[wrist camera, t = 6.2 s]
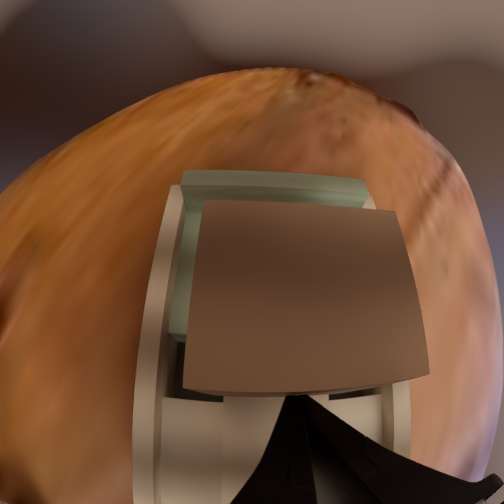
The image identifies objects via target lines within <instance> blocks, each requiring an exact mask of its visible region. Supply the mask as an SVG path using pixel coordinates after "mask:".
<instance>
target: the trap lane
mask: <svg viewBox="0 0 504 504" xmlns="http://www.w3.org/2000/svg"><path fill="white" fill-rule="evenodd" d="M204 200H235V201H264V202H285V203H303V204H318V205H332V206H344V207H356V208H367V209H376V207H375V204H374V201H373V198H372V195H371V194H369V193H368V190H367V187H366V184H365V181H364V180H363V179H355V178H346V177H337V176H326V175H315V174H303V173H288V172H271V171H246V170H184V172H183V176H182V180H181V183H180V185H171V188H170V192H169V196H168V199H167V203H166V207H165V211H164V215H163V219H162V223H161V227H160V232H159V236H158V240H157V245H156V249H155V254H154V259H153V264H152V269H151V274H150V279H149V284H148V290H147V295H146V301H145V307H144V314H143V320H142V327H141V334H140V342H139V350H138V359H137V369H136V379H135V391H134V406H133V427H132V482H133V501H134V504H230V503H231V501H232V500H233V499H234V497H235V496H236V495H237V493H238V492H239V491H240V489H241V488H242V487H243V485H244V484H245V483H246V481H247V480H248V479H249V477H250V476H251V474H252V473H253V471H254V470H255V468H256V467H257V465H258V463H259V462H260V459H261V457H262V455H263V453H264V451H265V448H266V446H267V444H268V441H269V439H270V436H271V434H272V431H273V428H274V426H275V423H276V420H277V418H278V415H279V412H280V410H281V407H282V404H283V401H284V398H285V397H234V396H215V395H211V394H206V393H202V392H197V391H193V390H189V389H185V388H183V373H184V359H185V347H186V336H187V325H188V315H189V306H190V297H191V288H192V280H193V272H194V264H195V257H196V250H197V242H198V236H199V229H200V222H201V216H202V210H203V203H204ZM310 397H311V398H313V399H314V400H315V401H317V402H318V403H319V404H321V405H322V406H324V407H325V408H326V409H328V410H329V411H330V412H332V413H333V414H335V415H336V416H337V417H339V418H340V419H342V420H343V421H345V422H346V423H347V424H349V425H350V426H352V427H353V428H355V429H356V430H358V431H359V432H361V433H362V434H364V435H365V436H367V437H369V438H370V439H372V440H373V441H375V442H377V443H378V444H380V445H382V446H383V447H385V448H387V449H389V450H391V451H393V452H395V453H397V454H399V455H402V456H404V457H406V458H408V459H410V446H411V410H410V388H409V380H406V381H401V382H397V383H393V384H388V385H384V386H379V387H374V388H368V389H363V390H357V391H351V392H345V393H338V394H327V395H314V396H310Z"/></svg>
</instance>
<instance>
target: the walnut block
mask: <svg viewBox="0 0 504 504" xmlns="http://www.w3.org/2000/svg"><path fill="white" fill-rule="evenodd" d="M428 374H430V371H429V362H428V353H427V345H426V338H425V331H424V325H423V319H422V314H421V309H420V303H419V299H418V294H417V289H416V285H415V280H414V276H413V272H412V268H411V264H410V260H409V257H408V253H407V249H406V246H405V243H404V239H403V236H402V233H401V229H400V226H399V223H398V220H397V217H396V214H395V211H387V210H377V209H367V208H356V207H344V206H332V205H318V204H303V203H285V202H264V201H235V200H204V203H203V210H202V216H201V222H200V229H199V236H198V242H197V250H196V257H195V264H194V272H193V280H192V288H191V297H190V306H189V315H188V325H187V336H186V347H185V359H184V373H183V388H185V389H189V390H193V391H197V392H202V393H206V394H211V395H215V396H234V397H285V396H286V395H296V396H297V395H302V394H307V395H309V396H314V395H327V394H338V393H345V392H351V391H357V390H363V389H368V388H374V387H379V386H384V385H388V384H393V383H397V382H401V381H406V380H410V379H413V378H417V377H421V376H425V375H428Z"/></svg>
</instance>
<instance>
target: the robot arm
mask: <svg viewBox="0 0 504 504" xmlns="http://www.w3.org/2000/svg"><path fill="white" fill-rule="evenodd" d="M503 484H504V483H503V481H502V480H501V478H500V477H498V476H497V475H496V474H494V473H493V474H490V475H489V476H487V477H486V478H484V479H483V480H481V481H479V482H468V481H464V480H462V479H459V478H456V477H453V476H450V475H447V474H445V473H442V472H439V471H437V470H434V469H432V468H429V467H427V466H425V465H422V464H420V463H417V462H415V461H413V460H411V459H408V458H406V457H404V456H402V455H399V454H397V453H395V452H393V451H391V450H389V449H387V448H385V447H383V446H382V445H380V444H378V443H377V442H375V441H373V440H372V439H370V438H369V437H367V436H365V435H364V434H362V433H361V432H359V431H358V430H356V429H355V428H353V427H352V426H350V425H349V424H347V423H346V422H345V421H343V420H342V419H340V418H339V417H337V416H336V415H335V414H333V413H332V412H330V411H329V410H328V409H326V408H325V407H324V406H322V405H321V404H319V403H318V402H317V401H315V400H314V399H313V398H311V397H310V396H309V395H307V394H302V395H297V396H296V395H286V396H285V398H284V401H283V404H282V407H281V410H280V412H279V415H278V418H277V420H276V423H275V426H274V428H273V431H272V434H271V436H270V439H269V441H268V444H267V446H266V448H265V451H264V453H263V455H262V457H261V459H260V462H259V463H258V465H257V467H256V468H255V470H254V471H253V473H252V474H251V476H250V477H249V479H248V480H247V481H246V483H245V484H244V485H243V487H242V488H241V489H240V491H239V492H238V493H237V495H236V496H235V497H234V499H233V500H232V501H231V503H230V504H487V503H486V500H487V499H488V498H489V497H490V496H492V495H493V494H494V493H495V492H496V491H497V490H498V489H499V488H500V487H501V486H502V485H503ZM501 504H504V501H503V502H502V503H501Z"/></svg>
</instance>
